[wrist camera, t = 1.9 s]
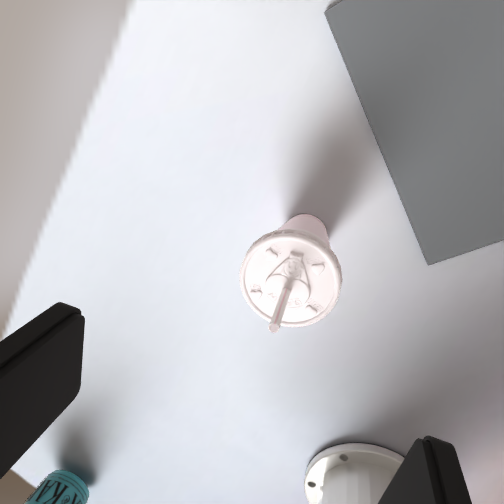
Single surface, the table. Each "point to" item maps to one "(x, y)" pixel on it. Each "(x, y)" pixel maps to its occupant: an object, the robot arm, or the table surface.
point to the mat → (434, 110)
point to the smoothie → (292, 274)
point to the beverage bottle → (60, 490)
